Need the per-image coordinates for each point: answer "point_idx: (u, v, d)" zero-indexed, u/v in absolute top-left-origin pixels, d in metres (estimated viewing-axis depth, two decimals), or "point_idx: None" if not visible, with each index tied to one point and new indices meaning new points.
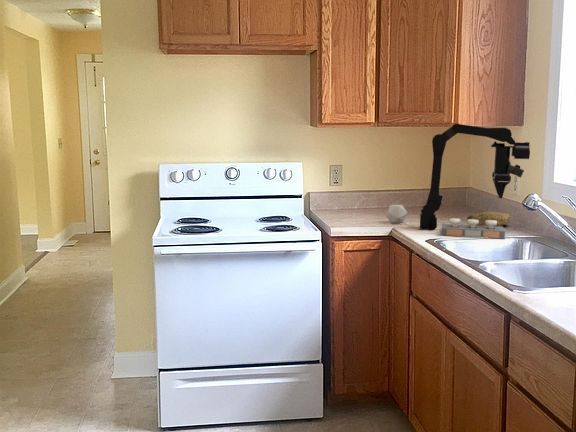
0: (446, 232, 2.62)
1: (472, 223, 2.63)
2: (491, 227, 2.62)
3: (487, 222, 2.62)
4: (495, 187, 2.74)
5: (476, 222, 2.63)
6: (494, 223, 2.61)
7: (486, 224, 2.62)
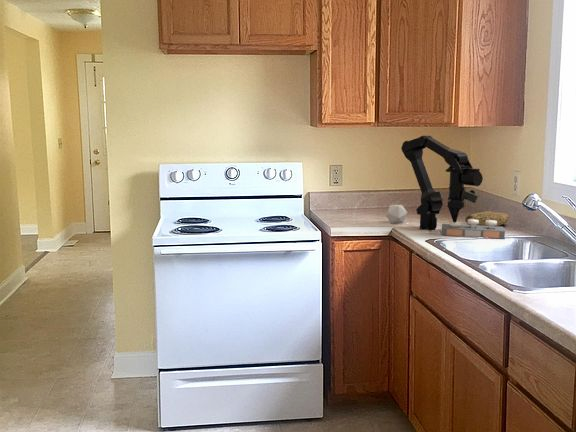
0: (446, 232, 2.62)
1: (472, 223, 2.63)
2: (491, 227, 2.62)
3: (487, 222, 2.62)
4: None
5: (476, 222, 2.63)
6: (494, 223, 2.61)
7: (486, 224, 2.62)
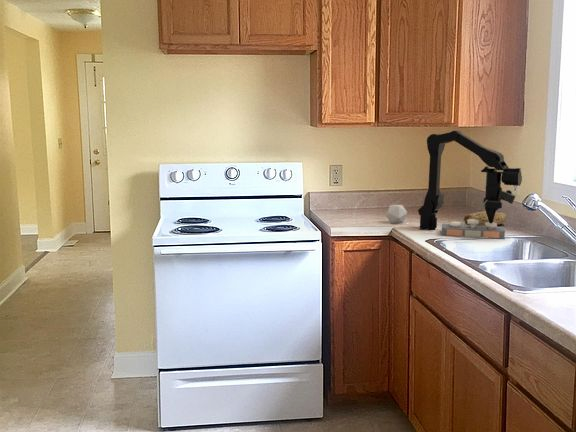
0: (446, 232, 2.62)
1: (472, 223, 2.63)
2: None
3: (487, 224, 2.62)
4: None
5: (476, 222, 2.63)
6: (494, 225, 2.61)
7: (486, 226, 2.62)
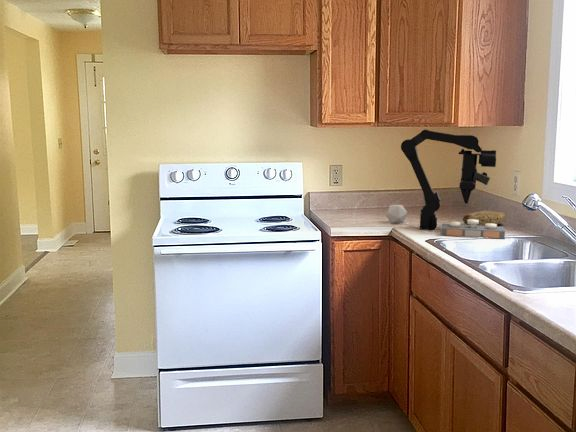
0: (446, 232, 2.62)
1: (472, 223, 2.63)
2: None
3: (487, 225, 2.62)
4: None
5: (476, 222, 2.63)
6: (494, 226, 2.61)
7: (486, 227, 2.62)
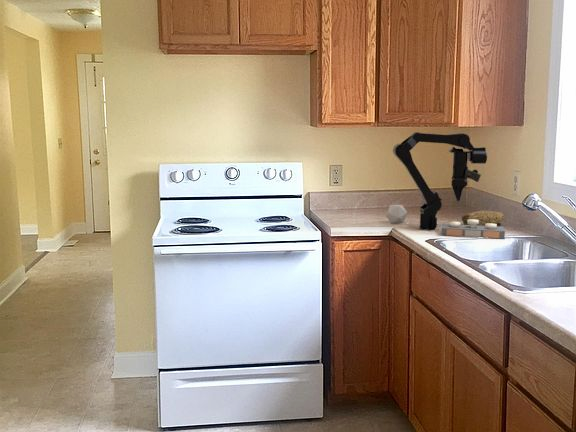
0: (446, 232, 2.62)
1: (472, 223, 2.63)
2: None
3: (487, 225, 2.62)
4: None
5: (476, 222, 2.63)
6: (494, 226, 2.61)
7: (486, 227, 2.62)
